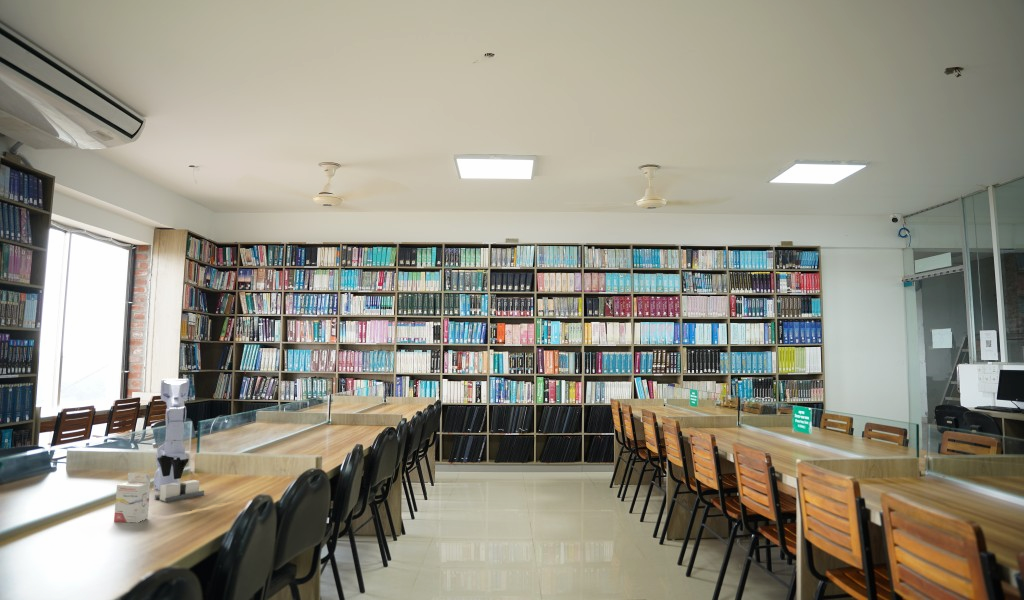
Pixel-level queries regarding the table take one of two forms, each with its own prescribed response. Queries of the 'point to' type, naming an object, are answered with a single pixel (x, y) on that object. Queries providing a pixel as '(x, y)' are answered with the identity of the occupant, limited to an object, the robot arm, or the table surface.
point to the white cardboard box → (169, 490)
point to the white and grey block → (189, 486)
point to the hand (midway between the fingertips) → (171, 477)
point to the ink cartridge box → (132, 499)
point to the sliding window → (180, 496)
